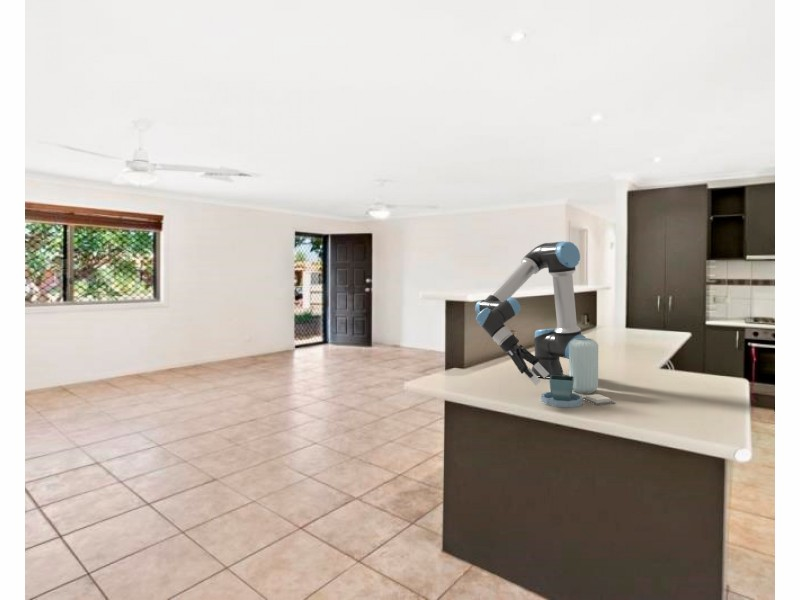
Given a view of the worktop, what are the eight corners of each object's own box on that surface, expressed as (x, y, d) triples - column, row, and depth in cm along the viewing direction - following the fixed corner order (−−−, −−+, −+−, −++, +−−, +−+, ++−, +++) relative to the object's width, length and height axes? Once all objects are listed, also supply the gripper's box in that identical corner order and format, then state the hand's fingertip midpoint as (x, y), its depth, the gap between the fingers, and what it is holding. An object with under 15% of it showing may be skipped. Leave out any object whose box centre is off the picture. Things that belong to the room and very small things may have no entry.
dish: (534, 398, 192) (534, 393, 191) (567, 395, 195) (567, 390, 195) (555, 408, 177) (555, 402, 177) (591, 405, 180) (591, 399, 180)
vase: (584, 395, 194) (584, 342, 193) (563, 390, 204) (563, 338, 203) (604, 392, 199) (604, 339, 198) (582, 386, 210) (582, 336, 208)
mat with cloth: (581, 398, 190) (581, 394, 190) (598, 396, 192) (598, 393, 192) (597, 405, 181) (597, 401, 181) (615, 403, 183) (615, 399, 182)
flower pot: (573, 398, 189) (573, 376, 188) (573, 404, 180) (573, 380, 180) (550, 396, 192) (550, 374, 191) (549, 402, 183) (549, 379, 183)
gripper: (508, 341, 208) (543, 379, 202) (489, 350, 187) (527, 392, 180) (520, 330, 205) (556, 367, 199) (502, 337, 184) (541, 379, 177)
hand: (542, 379), depth 189 cm, fingers open, 13 cm apart
